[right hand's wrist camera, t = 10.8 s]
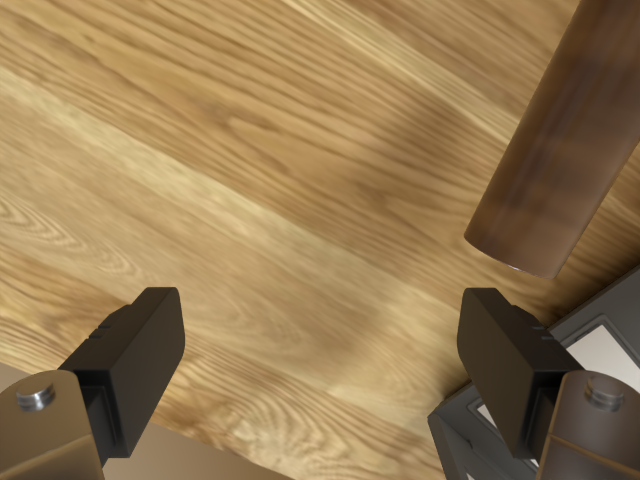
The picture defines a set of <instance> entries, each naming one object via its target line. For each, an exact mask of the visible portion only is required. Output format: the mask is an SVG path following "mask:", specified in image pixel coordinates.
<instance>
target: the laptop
mask: <svg viewBox="0 0 640 480" xmlns="http://www.w3.org/2000/svg"><path fill="white" fill-rule="evenodd" d="M546 330H548V331H549V332H550V333H551V334H552V335H553V336H554V339H555V340H558V342H559V343H560V344H561V345H562V346H563V347H564V348H565V349H566V350H567V351H568V352H569V353H570V354H571V355H572V356H573V357H574V358H575V359H576V360H577V361H578V362H579V363H580V364H581V365H582V366H583V367H584V368H585V369H586V370H590V371H595V372H600V373H603V374H606V375H609V376H612V377H614V378H616V379H619V380H621V381H622V382H624V383H626V384H628V385H629V386H631V387H632V388H634V389H635V390H636V391H637V392H639V393H640V264H638V265H637V266H636V267H634V268H633V269H631V270H630V271H628V272H627V273H626V274H624V275H623V276H621V277H620V278H618V279H617V280H616V281H614V282H613V283H611V284H610V285H608V286H607V287H606V288H604V289H603V290H601V291H600V292H598V293H597V294H596V295H594V296H593V297H591V298H590V299H588V300H587V301H586V302H584V303H583V304H581V305H580V306H578V307H577V308H576V309H574V310H573V311H571V312H570V313H568V314H567V315H566V316H564V317H563V318H561V319H560V320H558V321H557V322H556V323H554V324H553V325H551V326H550V327H548V328H547V329H546ZM427 418H428V424H429V427H430V430H431V433H432V436H433V439H434V442H435V445H436V449H437V452H438V455H439V458H440V461H441V464H442V467H443V470H444V473H445V476H446V479H447V480H535V478H536V474H537V470H538V467H539V466H538V464H537V462H536V460H514V459H513V457H512V455H511V453H510V451H509V450H508V448H507V446H506V444H505V442H504V440H503V438H502V436H501V434H500V433H499V431H498V429H497V427H496V425H495V423H494V421H493V419H492V418H491V416H490V414H489V412H488V410H487V408H486V406H485V404H484V403H483V401H482V399H481V397H480V395H479V393H478V391H477V389H476V387H475V386H474V384H473V382H472V381H471V382H470V383H469V384H467V385H466V386H464V387H463V388H461V389H460V390H459V391H457V392H456V393H454V394H453V395H451V396H450V397H449V398H447V399H446V400H444V401H443V402H441V403H440V404H439V405H438V406H437V407H436V409H435V410H434V411H433V412H432V413H431V414H430V415H429V416H428V417H427Z"/></svg>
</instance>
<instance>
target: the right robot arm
mask: <svg viewBox="0 0 640 480" xmlns="http://www.w3.org/2000/svg"><path fill="white" fill-rule="evenodd" d="M184 348H185V332H184V325H183V317H182V310H181V303H180V296H179V292H178V290H177V288H175V287H147V288H146V289H145V290H144V291H143V292H142V293H141V294H140V295H139V296H138V297H137V299H136V300H135V301H134V302H133V303H132V304H131V305H125V306H123V307H122V308H120V309H118V310H116V311H115V312H113V313H111V314H110V315H109V316H108V317H107V318H106V319H105V320H104V321H103V322H102V323H101V324H100V325H99V326H98V329H95V330H94V331H93V332H92V333H91V334H90V335H89V339H86V340H85V341H84V342H83V343H82V344H81V345H80V346H79V347H78V348H77V349H76V350H75V351H74V352H73V353H72V354H71V355H70V356H69V357H68V358H67V359H66V360H65V361H64V363H63V364H62V365H61V366H60V367H59V368H58V369H57V370H50V371H45V372H40V373H37V374H34V375H31V376H28V377H26V378H24V379H22V380H19V381H18V382H16V383H14V384H12V385H11V386H9V387H8V388H6V389H5V390H4V391H3V392H1V393H0V480H105V478H104V474H103V470H102V468H103V466H104V465H105V463H106V461H107V460H108V458H130V456H131V454H132V452H133V450H134V448H135V446H136V444H137V442H138V440H139V439H140V437H141V435H142V433H143V431H144V429H145V427H146V425H147V423H148V422H149V420H150V418H151V416H152V414H153V412H154V410H155V408H156V406H157V404H158V402H159V401H160V399H161V397H162V395H163V393H164V391H165V389H166V387H167V385H168V383H169V382H170V380H171V378H172V376H173V374H174V372H175V370H176V368H177V366H178V364H179V362H180V361H181V359H182V356H183V353H184ZM457 348H458V353H459V357H460V359H461V361H462V363H463V365H464V367H465V369H466V371H467V372H468V374H469V376H470V378H471V380H472V382H473V384H474V386H475V387H476V389H477V391H478V393H479V395H480V397H481V399H482V401H483V403H484V404H485V406H486V408H487V410H488V412H489V414H490V416H491V418H492V419H493V421H494V423H495V425H496V427H497V429H498V431H499V433H500V434H501V436H502V438H503V440H504V442H505V444H506V446H507V448H508V450H509V451H510V453H511V455H512V457H513V459H514V460H536V462H537V464H538V466H539V467H538V470H537V474H536V478H535V480H640V393H639V392H637V391H636V390H635V389H634V388H632V387H631V386H629V385H628V384H626V383H624V382H622V381H621V380H619V379H616V378H614V377H612V376H609V375H606V374H603V373H600V372H595V371H590V370H586V369H585V368H584V367H583V366H582V365H581V364H580V363H579V362H578V361H577V360H576V359H575V358H574V357H573V356H572V355H571V354H570V353H569V352H568V351H567V350H566V349H565V348H564V347H563V346H562V345H561V344H560V343H559V342H558V340H555V339H554V336H553V335H552V334H551V333H550V332H549V331H548V330H545V327H544V326H543V325H542V324H541V323H540V322H539V321H538V320H537V319H536V318H535V317H534V316H533V315H532V314H530V313H528V312H527V311H525V310H523V309H521V308H520V307H518V306H516V305H511V304H510V303H509V302H508V301H507V300H506V299H505V298H504V296H503V295H502V294H501V293H500V292H499V291H498V290H497V289H496V288H466V289H465V291H464V293H463V298H462V305H461V312H460V319H459V326H458V333H457Z"/></svg>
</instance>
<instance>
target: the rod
mask: <svg viewBox="0 0 640 480" xmlns="http://www.w3.org/2000/svg"><path fill="white" fill-rule="evenodd" d="M639 141H640V0H581V1H580V3H579V5H578V7H577V9H576V11H575V13H574V15H573V17H572V19H571V21H570V23H569V25H568V27H567V29H566V31H565V33H564V35H563V37H562V39H561V41H560V43H559V45H558V47H557V49H556V51H555V53H554V55H553V57H552V59H551V61H550V63H549V65H548V67H547V69H546V71H545V73H544V75H543V77H542V79H541V81H540V83H539V85H538V87H537V89H536V91H535V93H534V95H533V97H532V99H531V101H530V103H529V105H528V107H527V109H526V111H525V113H524V115H523V117H522V119H521V121H520V123H519V125H518V127H517V129H516V131H515V133H514V135H513V137H512V139H511V141H510V143H509V145H508V147H507V149H506V151H505V153H504V155H503V157H502V159H501V161H500V163H499V165H498V167H497V169H496V171H495V173H494V175H493V177H492V179H491V181H490V183H489V185H488V187H487V189H486V191H485V193H484V195H483V197H482V199H481V201H480V203H479V205H478V207H477V209H476V211H475V213H474V215H473V217H472V219H471V221H470V223H469V225H468V227H467V229H466V231H465V233H464V238H465V239H466V240H467V241H468V242H469V243H470V244H471V245H472V246H474V247H475V248H476V249H478V250H479V251H481V252H483V253H484V254H486V255H488V256H490V257H491V258H493V259H495V260H497V261H499V262H501V263H503V264H506V265H508V266H510V267H512V268H515V269H517V270H520V271H522V272H525V273H528V274H531V275H534V276H538V277H542V278H548V279H552V278H555V277H556V276H557V274H558V273H559V271H560V269H561V268H562V266H563V264H564V263H565V261H566V260H567V258H568V256H569V255H570V253H571V251H572V250H573V248H574V247H575V245H576V243H577V242H578V240H579V238H580V237H581V235H582V234H583V232H584V230H585V229H586V227H587V225H588V224H589V222H590V221H591V219H592V217H593V216H594V214H595V212H596V211H597V209H598V208H599V206H600V204H601V203H602V201H603V199H604V198H605V196H606V195H607V193H608V191H609V190H610V188H611V186H612V185H613V183H614V182H615V180H616V178H617V177H618V175H619V173H620V172H621V170H622V169H623V167H624V165H625V164H626V162H627V160H628V159H629V157H630V156H631V154H632V152H633V151H634V149H635V147H636V146H637V144H638V143H639Z"/></svg>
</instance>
